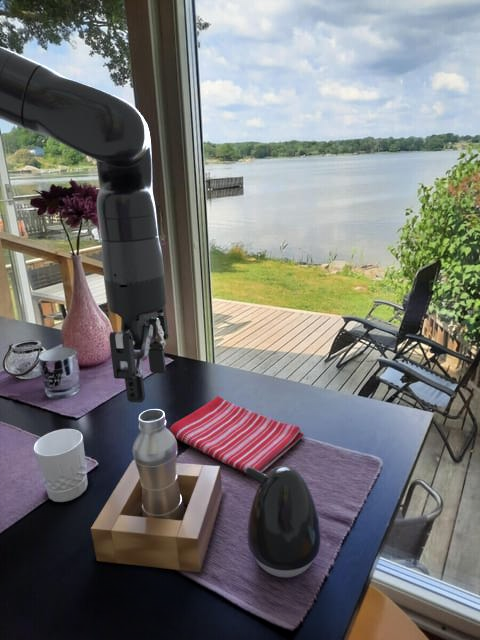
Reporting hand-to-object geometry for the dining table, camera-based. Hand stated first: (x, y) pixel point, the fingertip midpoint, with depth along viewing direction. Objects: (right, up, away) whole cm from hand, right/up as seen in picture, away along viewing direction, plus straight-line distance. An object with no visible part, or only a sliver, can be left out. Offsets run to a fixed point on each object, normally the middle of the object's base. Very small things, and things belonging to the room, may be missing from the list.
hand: (148, 385), depth 62 cm
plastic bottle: (+1, -24, +8) cm, 25 cm away
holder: (+1, -23, +8) cm, 25 cm away
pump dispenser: (+19, -25, +1) cm, 32 cm away
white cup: (-18, -21, +17) cm, 32 cm away
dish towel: (+12, -15, +30) cm, 36 cm away
